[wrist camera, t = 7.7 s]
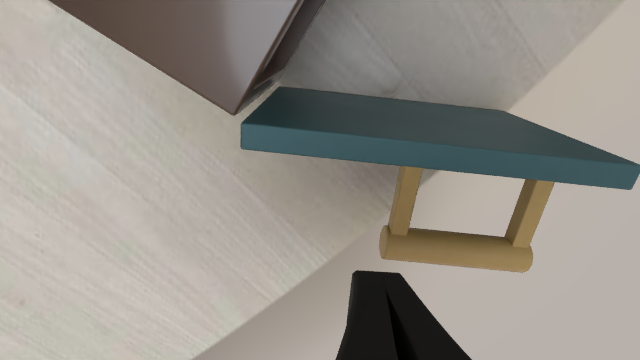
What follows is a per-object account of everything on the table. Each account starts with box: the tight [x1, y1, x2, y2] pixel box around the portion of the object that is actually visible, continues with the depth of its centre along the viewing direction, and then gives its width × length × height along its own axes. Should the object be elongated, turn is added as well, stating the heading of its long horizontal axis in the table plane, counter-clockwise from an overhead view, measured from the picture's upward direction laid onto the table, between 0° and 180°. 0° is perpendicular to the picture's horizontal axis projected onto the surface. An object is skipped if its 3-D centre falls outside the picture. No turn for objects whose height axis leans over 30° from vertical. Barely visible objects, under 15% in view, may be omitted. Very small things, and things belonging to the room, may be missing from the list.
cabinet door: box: [241, 87, 640, 273], centre depth 15 cm, size 6×12×8 cm, turn 84°
